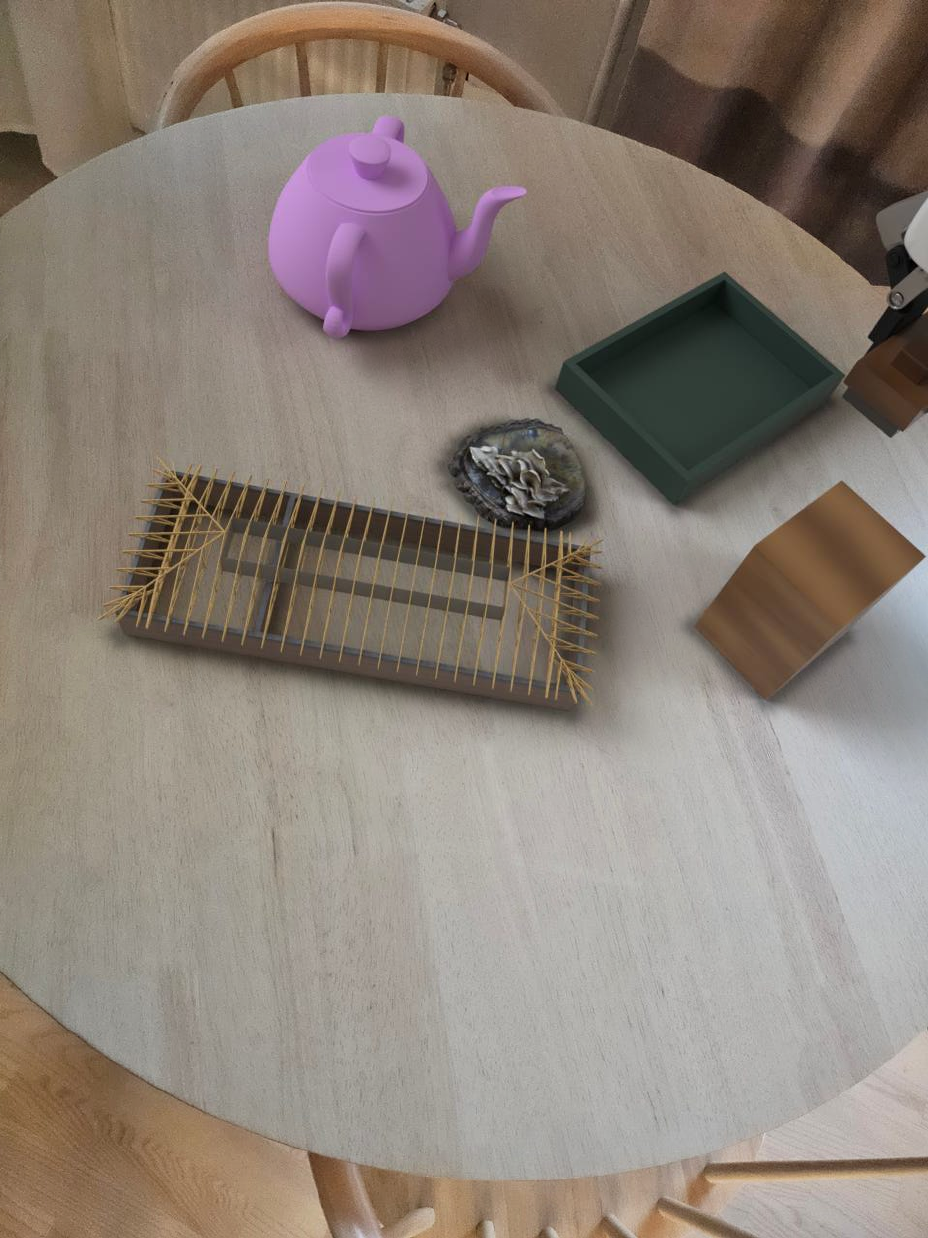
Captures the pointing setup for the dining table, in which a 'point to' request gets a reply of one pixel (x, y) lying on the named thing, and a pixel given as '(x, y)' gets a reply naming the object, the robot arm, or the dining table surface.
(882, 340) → the robot arm
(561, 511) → the log
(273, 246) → the teapot
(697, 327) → the tray
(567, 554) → the rafter model
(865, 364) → the brush
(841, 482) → the stand
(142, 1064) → the dining table surface
